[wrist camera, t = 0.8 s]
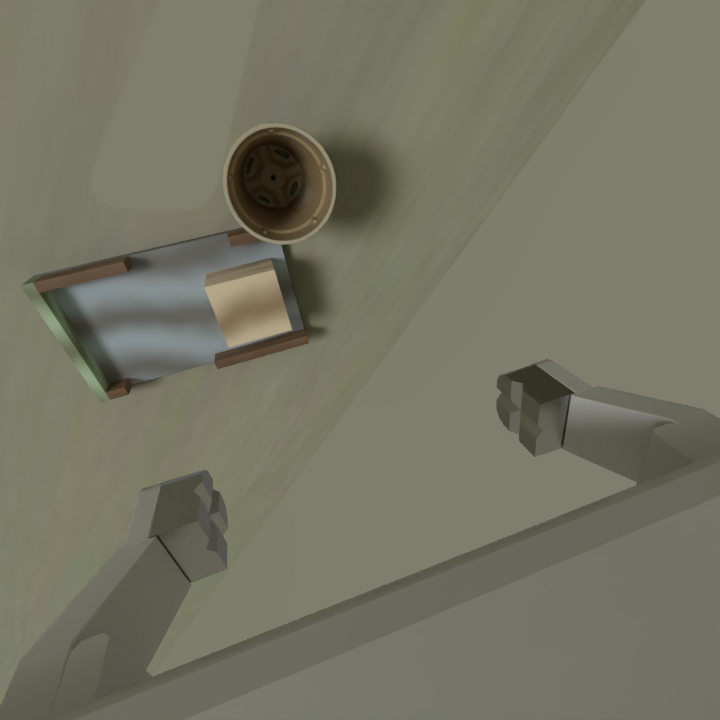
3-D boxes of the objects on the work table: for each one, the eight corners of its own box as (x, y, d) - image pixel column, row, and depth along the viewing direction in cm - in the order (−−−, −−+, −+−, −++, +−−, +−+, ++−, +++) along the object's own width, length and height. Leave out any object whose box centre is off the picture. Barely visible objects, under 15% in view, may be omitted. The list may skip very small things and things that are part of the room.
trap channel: (34, 275, 38) (20, 285, 35) (274, 220, 41) (277, 225, 39) (107, 387, 45) (100, 402, 43) (304, 332, 49) (308, 343, 47)
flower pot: (317, 226, 43) (334, 245, 36) (228, 224, 40) (228, 244, 33) (319, 129, 38) (339, 128, 31) (219, 119, 36) (216, 116, 29)
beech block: (206, 273, 41) (204, 287, 37) (270, 257, 42) (274, 269, 39) (228, 329, 45) (228, 347, 41) (287, 314, 46) (292, 330, 42)
